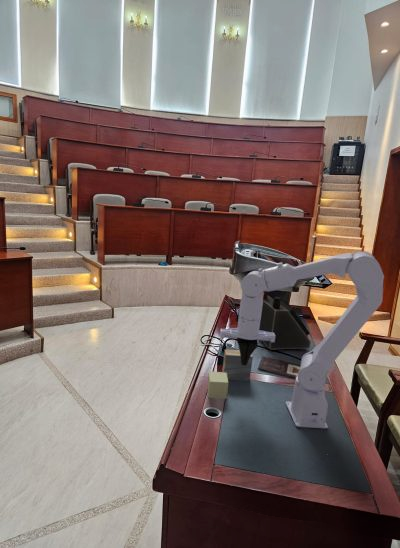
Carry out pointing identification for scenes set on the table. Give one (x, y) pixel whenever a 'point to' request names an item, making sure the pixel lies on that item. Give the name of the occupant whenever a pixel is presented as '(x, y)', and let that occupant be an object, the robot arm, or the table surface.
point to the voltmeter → (282, 325)
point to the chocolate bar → (279, 367)
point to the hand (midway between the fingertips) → (243, 363)
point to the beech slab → (236, 366)
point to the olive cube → (217, 385)
